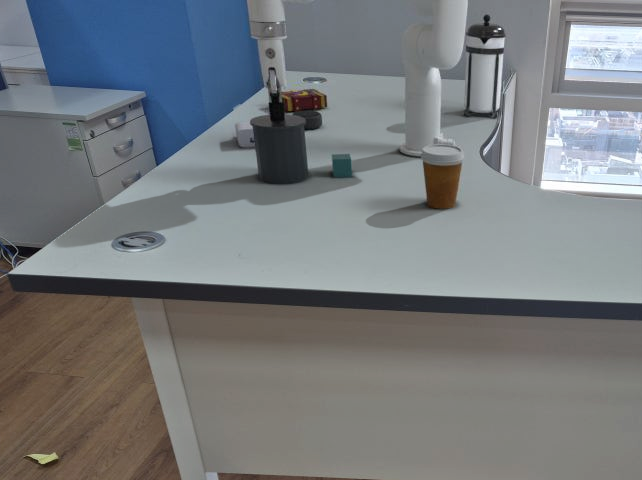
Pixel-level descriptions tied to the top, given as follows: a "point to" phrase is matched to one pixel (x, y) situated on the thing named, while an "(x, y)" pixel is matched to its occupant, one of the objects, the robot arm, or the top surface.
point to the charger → (245, 134)
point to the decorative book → (303, 100)
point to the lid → (278, 122)
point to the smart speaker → (310, 119)
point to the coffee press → (484, 67)
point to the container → (281, 155)
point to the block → (341, 165)
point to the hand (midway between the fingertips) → (277, 117)
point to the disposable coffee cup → (442, 174)
